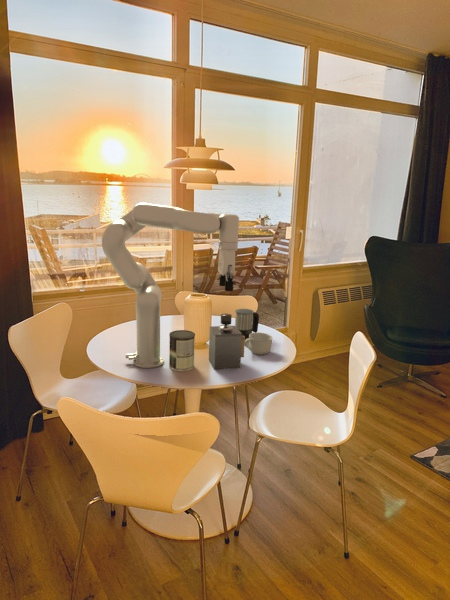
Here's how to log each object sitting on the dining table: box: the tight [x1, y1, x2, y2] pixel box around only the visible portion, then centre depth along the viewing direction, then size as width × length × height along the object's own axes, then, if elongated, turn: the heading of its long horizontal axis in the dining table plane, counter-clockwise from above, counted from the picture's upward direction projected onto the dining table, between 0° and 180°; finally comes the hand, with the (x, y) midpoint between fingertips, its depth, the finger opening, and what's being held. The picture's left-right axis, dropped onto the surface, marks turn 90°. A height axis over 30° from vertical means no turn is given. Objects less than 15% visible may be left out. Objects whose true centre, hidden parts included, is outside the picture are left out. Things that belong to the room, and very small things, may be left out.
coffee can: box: [168, 329, 196, 372], centre depth 176 cm, size 10×10×14 cm
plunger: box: [218, 313, 233, 331], centre depth 179 cm, size 8×8×18 cm
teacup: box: [244, 331, 274, 356], centre depth 196 cm, size 14×11×8 cm
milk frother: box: [234, 308, 260, 343], centre depth 216 cm, size 14×16×15 cm
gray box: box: [208, 325, 245, 371], centre depth 180 cm, size 14×11×15 cm
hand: (225, 288), depth 175 cm, fingers open, 9 cm apart
